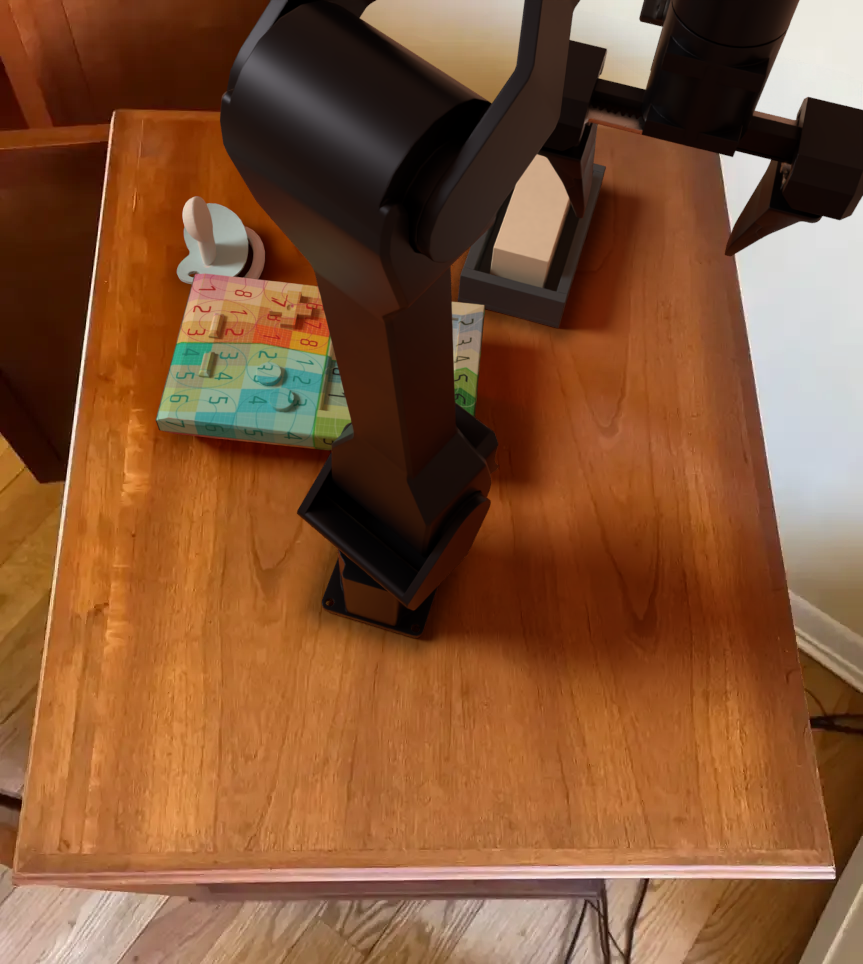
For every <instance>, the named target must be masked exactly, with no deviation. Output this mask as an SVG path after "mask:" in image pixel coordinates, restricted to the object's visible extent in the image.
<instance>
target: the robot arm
mask: <svg viewBox="0 0 863 964" xmlns="http://www.w3.org/2000/svg"><path fill="white" fill-rule="evenodd" d="M800 1H801V0H643V2H642V5H641V10H640V13H639V18H638V20H639V22H640V23H644V24H649V25H651V26H652V25H653V26H657V27H661V30H660V34H659V38H658V41H657V45H656V48H655V52H654V55H653V58H652V62H651V65H650V66H651V67H650V69H649V70H650V72H649V76H648V79H647V83H646V86H645V88H641V87H637V86H633V85H628V84H626V83H620V82H618V81H617V82H616V81H614V80H613V81H612V80H609V79H604V78H600V76H601V75H602V74H603V70H604V67H605V63H606V59H607V54H608V48H606V47H602V46H598V45H594V44H590V43H586V42H585V43H584V42H581V41H576V40H573V39H571V32H572V25H573V18H574V17H573V16H574V12H575V9H576V7H577V6H578V5H579V3H580V2H581V0H524V1H523V9H522V15H521V16H522V17H521V25H520V32H519V41H518V48H517V56H516V64H515V68H514V70H513V71H512V73H511V75H510V76H509V77H508V79H507V80H506V82H505V83H504V85H503V87H502V88H501V90H500V91H499V92H498V93H497V94H496V96H495V98H494V100H493V101H492V102H491V101H489V100H488V99H487V98H485V97H483V96H482V95H480V94H478V93H477V92H475V91H474V90H472V89H471V88H469V87H468V86H466V85H465V84H463V83H461V82H460V81H458V80H457V79H455V78H454V77H452V76H451V75H449V74H448V73H446V72H445V71H443V70H441V69H440V68H439V67H437V66H435V65H433V64H432V63H430V62H429V61H427V60H426V59H424V57H423V58H422V57H421V56H420V55H418V54H417V53H415V52H414V51H412V50H410V49H409V48H407V47H406V46H404V45H402V44H401V43H399V42H398V41H396V40H395V39H393V38H391V36H389V35H387V34H386V33H384V32H382V31H381V30H379V29H378V28H376V27H374V26H373V25H371V24H370V23H368V22H367V21H365V20H364V19H362V18H361V17H362V16H363V14H364V12H365V11H366V9H367V8H368V7H369V6H370V5H372V4H373V3H374V2H377V0H270V1H269V3H268V4H267V6H266V7H265V9H264V10H263V12H262V14H261V15H260V17H259V18H258V20H257V21H256V24H255V25H254V26H253V27H252V29H251V31H250V33H249V34H248V36H247V37H246V39H245V41H244V42H243V44H242V46H240V49H239V51H238V53H237V55H236V57H235V60H234V61H233V63H232V66H231V68H230V69H229V76H228V81H227V87H226V91H225V92H224V93H223V94H222V95H221V100H220V102H221V103H220V112H219V114H220V115H219V124H220V131H221V137H222V144H223V147H224V149H225V151H226V154H227V155H228V157H229V158H230V160H231V162H232V163H233V166H234V167H235V169H236V170H237V173H239V175H240V177H241V179H242V180H243V182H244V184H245V185H246V187H247V188H248V190H249V192H250V194H251V195H252V197H253V198H254V200H255V201H256V203H257V204H258V205H259V207H260V208H261V209H262V210H263V211H264V212H265V214H266V215H267V216H268V217H269V218H270V219H271V220H272V222H273V223H274V224H275V225H276V226H277V227H278V228H279V229H280V231H281V232H282V233H283V234H284V235H285V236H286V238H287V239H288V240H289V241H290V242H291V243H292V245H294V247H295V248H296V249H297V250H298V251H299V253H300V254H301V255H302V256H303V257H304V258H305V259H306V260H307V262H308V263H309V265H310V266H311V268H312V270H313V272H314V275H315V280H316V285H317V286H318V288H319V292H320V296H321V300H322V305H323V309H324V313H325V317H326V321H327V325H328V329H329V333H330V337H331V341H332V345H333V349H334V353H335V357H336V361H337V365H338V370H339V374H340V378H341V382H342V386H343V390H344V394H345V398H346V402H347V406H348V410H349V414H350V418H351V423H348V424H347V425H346V426H345V427H344V429H343V431H342V433H341V435H340V436H339V437H338V438H337V439H336V440H335V441H334V442H333V443H332V451H331V452H330V453H329V455H328V457H327V459H326V460H325V462H324V464H323V466H322V467H321V469H320V471H319V473H318V474H317V476H316V477H315V479H314V481H313V483H312V484H311V486H310V488H309V490H308V491H307V493H306V495H305V496H304V498H303V500H302V502H301V504H300V505H299V507H298V508H297V510H296V514H297V515H298V516H299V517H300V518H301V519H302V520H304V521H305V522H306V523H307V524H308V525H309V526H311V528H313V529H314V530H315V531H316V532H317V533H318V534H320V535H321V536H322V537H323V538H324V539H326V540H327V541H328V542H329V543H330V544H332V545H333V546H334V547H335V548H336V549H337V555H338V556H337V559H336V562H335V564H334V567H333V569H332V572H331V575H330V578H329V581H328V583H327V585H326V587H325V591H324V593H323V596H322V598H321V607H322V609H323V610H324V611H325V612H327V613H331V614H333V615H337V616H339V617H344V618H346V619H350V620H354V621H356V622H360V623H363V624H365V625H370V626H373V627H377V628H380V629H383V630H386V631H390V632H392V633H396V634H400V635H403V636H406V637H409V638H412V639H418V638H420V637H422V636H423V634H424V632H425V628H426V625H427V623H428V620H429V617H430V613H431V610H432V607H433V603H434V601H435V598H436V595H437V592H438V589H439V586H440V585H441V583H443V582H444V580H446V578H447V577H448V576H449V575H450V574H452V572H453V570H455V569H456V568H457V567H458V566H459V564H460V563H461V562H462V561H464V559H466V557H467V556H468V554H469V553H470V550H471V548H472V546H473V544H474V542H475V540H476V538H477V535H478V534H479V531H480V529H481V527H482V525H483V523H484V521H485V520H486V516H487V515H488V513H489V510H490V507H491V504H492V500H491V499H490V498H488V496H489V493H490V492H491V488H492V484H493V481H492V474H494V473H495V472H496V471H497V470H498V469H499V467H500V465H499V464H498V463H497V462H496V457H497V452H498V449H499V441H498V437H497V434H496V432H495V431H494V430H492V429H491V428H490V427H489V426H488V425H486V424H485V423H484V422H482V421H481V420H479V419H478V418H477V417H476V416H475V417H474V416H473V415H471V414H470V413H469V412H467V411H466V410H465V409H464V408H462V407H461V406H460V405H458V404H457V403H456V402H455V388H454V357H453V325H452V302H453V299H452V298H453V297H452V295H453V294H452V266H453V264H454V263H455V262H457V261H458V260H459V259H460V258H461V257H462V255H464V254H465V253H466V252H467V251H468V250H470V248H471V246H472V245H473V244H474V243H475V242H476V241H477V240H478V239H479V238H480V237H481V236H482V235H483V234H484V233H485V232H486V231H487V230H488V229H489V228H490V227H491V226H492V225H493V224H494V222H495V218H496V213H497V211H498V209H499V208H500V206H501V205H502V204H503V202H504V201H505V199H506V198H507V196H508V195H509V194H510V192H511V191H512V189H513V188H514V186H515V185H516V183H517V182H518V181H519V179H520V178H521V176H522V175H523V173H524V172H525V171H526V169H527V168H528V166H529V165H530V163H531V162H532V161H533V159H534V158H535V156H536V155H537V154H538V155H541V156H544V157H546V158H547V159H548V160H549V162H550V164H551V165H552V167H553V168H554V170H555V172H556V173H557V175H558V176H559V178H560V180H561V181H562V183H563V185H564V187H565V189H566V192H567V195H568V197H569V200H570V202H571V205H572V207H573V210H574V212H575V215H576V217H578V218H583V216H584V213H585V209H586V206H587V202H588V198H589V194H590V191H591V185H592V175H593V165H594V163H595V153H596V142H597V132H598V127H599V126H598V125H600V126H604V127H606V128H607V127H609V128H612V129H616V130H619V131H624V132H627V133H628V132H629V133H632V134H635V135H641V136H645V137H648V138H653V139H657V140H660V141H664V142H668V143H673V144H677V145H681V146H684V147H689V148H693V149H697V150H702V151H707V152H710V153H715V154H717V155H723V156H727V157H730V158H734V156H735V153H736V152H738V153H741V154H745V155H749V156H755V157H758V158H762V159H766V160H770V161H769V164H768V165H767V168H766V170H765V172H764V173H763V176H762V177H761V179H759V182H758V184H757V185H756V187H755V189H754V190H753V192H752V194H751V195H750V197H749V199H748V201H747V202H746V204H745V206H744V207H743V209H742V211H741V212H740V214H739V216H738V217H737V218H736V221H735V223H734V224H733V227H732V229H731V231H730V235H729V236H728V239H727V241H726V246H725V250H724V256H727V257H733V256H735V255H736V254H738V253H739V252H741V251H743V250H745V249H746V248H748V247H750V246H751V245H754V244H755V243H757V242H758V241H760V240H762V239H763V238H765V237H767V236H769V235H772V234H773V233H777V232H778V231H781V230H783V229H787V228H788V227H790V226H793V225H795V224H798V223H800V222H803V223H809V224H816V223H818V222H820V220H822V218H823V217H825V218H829V219H832V220H837V221H842V220H844V219H846V218H849V217H851V216H852V215H853V214H854V212H855V210H856V209H857V206H858V205H859V203H860V202H861V200H862V198H863V109H861V108H857V107H853V106H850V105H844V104H841V103H836V102H833V101H828V100H823V99H819V98H816V97H811V96H806V97H805V98H803V100H802V102H801V104H800V107H799V109H798V111H797V113H796V117H795V119H792V118H787V117H783V116H779V115H776V114H770V113H767V112H762V111H758V110H756V109H757V106H758V104H759V101H760V99H761V97H762V94H763V91H764V90H765V86H766V84H767V81H768V80H769V77H770V74H771V72H772V71H773V67H774V65H775V63H776V59H777V58H778V54H779V52H780V49H781V47H782V46H783V45H782V44H783V43H784V40H785V38H786V36H787V33H788V30H789V28H790V25H791V22H792V21H793V17H794V15H795V13H796V11H797V8H798V5H799V3H800ZM329 601H331V602H333V603H332V605H329V604H328V605H327V603H328V602H329ZM414 627H417V628H418V631H414V630H413V628H414Z"/></svg>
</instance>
